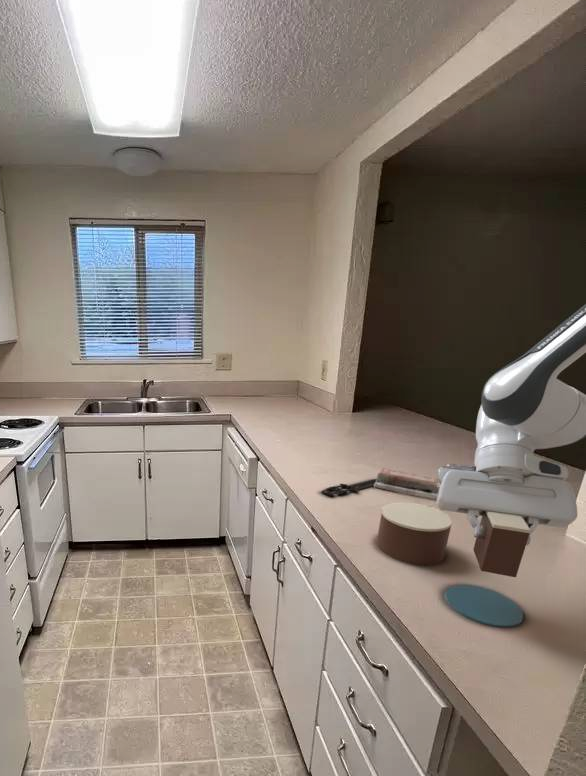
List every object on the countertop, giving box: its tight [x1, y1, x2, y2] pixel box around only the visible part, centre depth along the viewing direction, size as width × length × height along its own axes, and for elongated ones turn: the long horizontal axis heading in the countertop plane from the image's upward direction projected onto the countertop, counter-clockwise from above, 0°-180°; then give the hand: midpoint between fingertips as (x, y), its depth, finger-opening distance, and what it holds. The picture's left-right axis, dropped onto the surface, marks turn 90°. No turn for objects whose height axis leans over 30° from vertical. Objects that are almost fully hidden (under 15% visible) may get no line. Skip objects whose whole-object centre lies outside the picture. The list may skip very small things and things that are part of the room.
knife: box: [320, 478, 377, 498], centre depth 135 cm, size 25×6×1 cm, turn 112°
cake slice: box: [473, 511, 531, 578], centre depth 76 cm, size 5×8×9 cm, turn 156°
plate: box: [444, 584, 524, 628], centre depth 80 cm, size 12×12×1 cm
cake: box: [376, 501, 453, 566], centre depth 99 cm, size 14×14×9 cm
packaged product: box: [373, 468, 440, 501], centre depth 133 cm, size 18×5×10 cm
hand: (501, 540), depth 75 cm, fingers closed on cake slice, 5 cm apart
